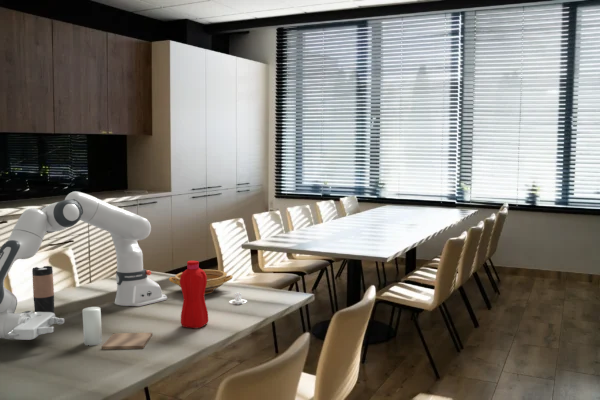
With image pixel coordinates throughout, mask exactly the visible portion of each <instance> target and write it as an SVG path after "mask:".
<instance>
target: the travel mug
mask: <svg viewBox="0 0 600 400" xmlns="http://www.w3.org/2000/svg"><path fill="white" fill-rule="evenodd" d="M31 270H32V273H31V275H32V292H33V294H32V295H33V305H34V306H33V307H34V312H52V313H54V314H55V289H54V275H53V274H54V273H53V272H54V271H53V270H54V269H53V267H52V266H51V265H49V266H48V265H44V266H43V267H38V266H36V267H33V268H32V269H31Z"/></svg>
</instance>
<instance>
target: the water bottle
mask: <svg viewBox="0 0 600 400" xmlns="http://www.w3.org/2000/svg"><path fill="white" fill-rule="evenodd" d="M186 264H187V265H186V268H187V269H185V270H184V271H181V273H182V274H181V277H180V286H181V287H180V286H179V287H180V290H181V292H182V296H183V302H182V307H181V312H180V324H181V326H182V327H183V328H188V329H189V328H191V329H200V328H203V327H204V326H205V325H207V324H208V322H209V313H208V308H207V304H206V300H205V294H204V293H205V288H206V284H207V276H206V274H205V272H204V271H203V270H204V269H202V268H200V267H199V265H200V262H199V261H198V260H188V261H187V262H186Z"/></svg>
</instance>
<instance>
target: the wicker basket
mask: <svg viewBox="0 0 600 400" xmlns="http://www.w3.org/2000/svg"><path fill="white" fill-rule="evenodd" d="M202 270H203V271H204V272H205V274H206V276H207V284H206V288H205V293H204V295H208V294H211V293H213V292H214V290H216V289H218V288H220V287H221V286H223V285H224V284H225V283H228V282H229V281H231V280H232V279H233V275H228V274H227V272H225V271H222V270H216V269H202ZM181 274H182V272H179V273H177V274H175V275H174V276H171V277H169V278H168V279H169V282H171V283H173V284H175V285H177V286H178V287H179V288H181V286H180V277H181Z"/></svg>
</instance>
